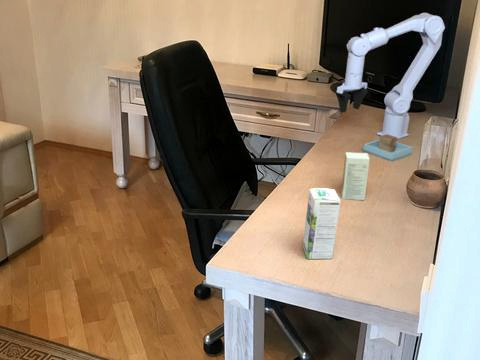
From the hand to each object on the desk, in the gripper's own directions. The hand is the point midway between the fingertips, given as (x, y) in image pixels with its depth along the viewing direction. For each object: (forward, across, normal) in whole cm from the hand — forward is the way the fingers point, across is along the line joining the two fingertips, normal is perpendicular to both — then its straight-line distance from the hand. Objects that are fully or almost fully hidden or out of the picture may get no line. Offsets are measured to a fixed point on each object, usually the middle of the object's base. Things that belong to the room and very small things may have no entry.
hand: (349, 110), depth 190 cm
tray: (+9, +3, +20) cm, 22 cm away
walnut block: (+9, +3, +20) cm, 22 cm away
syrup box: (+10, +71, +49) cm, 87 cm away
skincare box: (+10, +41, +35) cm, 55 cm away
